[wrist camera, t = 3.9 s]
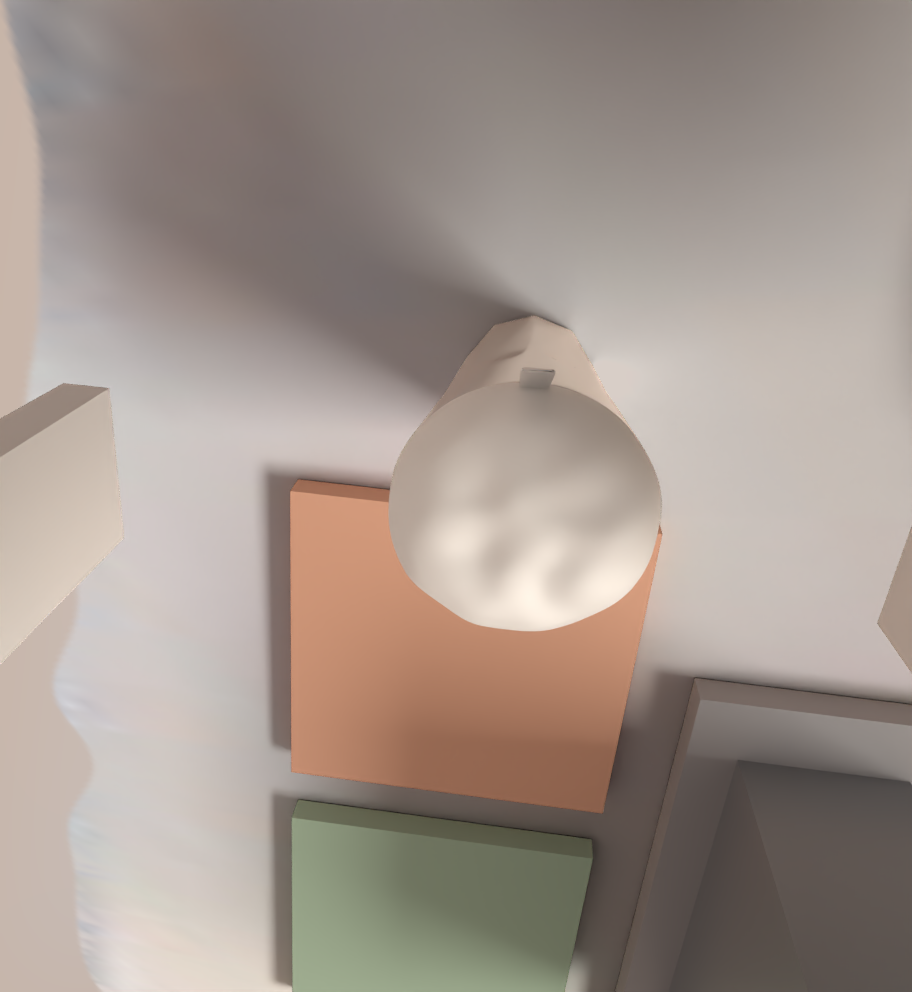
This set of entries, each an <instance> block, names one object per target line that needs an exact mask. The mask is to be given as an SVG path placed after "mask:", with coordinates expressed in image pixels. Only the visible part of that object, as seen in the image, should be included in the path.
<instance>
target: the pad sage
mask: <svg viewBox="0 0 912 992" xmlns="http://www.w3.org/2000/svg"><path fill="white" fill-rule="evenodd" d="M592 861H593V852H592V839H586V838H578V837H571V836H564V835H556V834H549V833H541V832H534V831H527V830H519V829H512V828H504V827H497V826H490V825H482V824H475V823H467V822H460V821H452V820H445V819H438V818H430V817H423V816H415V815H408V814H401V813H393V812H386V811H378V810H371V809H364V808H356V807H349V806H341V805H334V804H327V803H319V802H312V801H304V800H298V801H297V804H296V807H295V810H294V813H293V815H292V992H565V987H566V983H567V978H568V973H569V969H570V964H571V959H572V955H573V950H574V945H575V941H576V936H577V931H578V927H579V922H580V917H581V913H582V908H583V903H584V899H585V894H586V889H587V884H588V880H589V875H590V870H591V866H592Z"/></svg>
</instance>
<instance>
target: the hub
mask: <svg viewBox="0 0 912 992" xmlns="http://www.w3.org/2000/svg"><path fill="white" fill-rule="evenodd" d="M615 992H912V705H909V704H901V703H893V702H885V701H877V700H869V699H861V698H853V697H845V696H837V695H828V694H820V693H812V692H804V691H796V690H788V689H780V688H772V687H764V686H756V685H748V684H740V683H732V682H724V681H716V680H708V679H700V678H695V679H694V683H693V687H692V691H691V694H690V698H689V702H688V706H687V710H686V714H685V718H684V722H683V726H682V730H681V734H680V738H679V742H678V746H677V750H676V753H675V757H674V761H673V765H672V769H671V773H670V777H669V781H668V785H667V789H666V793H665V797H664V801H663V805H662V809H661V813H660V816H659V820H658V824H657V828H656V832H655V836H654V840H653V844H652V848H651V852H650V856H649V860H648V864H647V868H646V872H645V875H644V879H643V883H642V887H641V891H640V895H639V899H638V903H637V907H636V911H635V915H634V919H633V923H632V927H631V931H630V935H629V938H628V942H627V946H626V950H625V954H624V958H623V962H622V966H621V970H620V974H619V978H618V982H617V986H616V990H615Z"/></svg>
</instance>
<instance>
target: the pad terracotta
mask: <svg viewBox="0 0 912 992" xmlns="http://www.w3.org/2000/svg"><path fill="white" fill-rule="evenodd" d="M389 494H390V490H387V489H379V488H370V487H361V486H352V485H344V484H335V483H326V482H318V481H309V480H300V479H298V480H297V482H296V483H295V485H294V486H293V488H292V489H291V491H290V557H291V772H295V773H302V774H310V775H317V776H325V777H332V778H340V779H347V780H355V781H362V782H370V783H377V784H385V785H392V786H400V787H407V788H415V789H422V790H430V791H437V792H445V793H452V794H460V795H467V796H475V797H482V798H490V799H497V800H505V801H512V802H520V803H527V804H535V805H542V806H550V807H557V808H565V809H572V810H580V811H587V812H595V813H602V814H603V810H604V805H605V800H606V796H607V791H608V786H609V782H610V777H611V772H612V767H613V763H614V758H615V753H616V749H617V744H618V739H619V735H620V730H621V725H622V721H623V716H624V711H625V707H626V702H627V697H628V693H629V688H630V683H631V679H632V674H633V669H634V665H635V660H636V655H637V651H638V646H639V641H640V636H641V632H642V627H643V622H644V618H645V613H646V608H647V604H648V599H649V594H650V590H651V585H652V580H653V576H654V571H655V566H656V562H657V557H658V552H659V548H660V543H661V538H662V531H661V528H660V524H659V530H658V534H657V539H656V543H655V546H654V550H653V553H652V556H651V558H650V561H649V563H648V565H647V567H646V569H645V571H644V573H643V574H642V576H641V577H640V579H639V580H638V582H637V583H636V584H635V586H634V587H633V588H632V589H631V590H630V591H629V592H628V593H627V594H626V595H625V596H624V597H623V598H622V599H620V600H619V601H618V602H616V603H615V604H613V605H612V606H610V607H608V608H606V609H604V610H602V611H600V612H598V613H596V614H594V615H592V616H589V617H587V618H585V619H582V620H580V621H577V622H575V623H572V624H569V625H566V626H563V627H559V628H555V629H551V630H545V631H516V630H506V629H498V628H491V627H485V626H480V625H476V624H473V623H471V622H468V621H466V620H464V619H463V618H461V617H459V616H458V615H456V614H454V613H453V612H452V611H450V610H449V609H447V608H446V607H445V606H443V605H442V604H440V603H439V602H438V601H436V600H435V599H433V598H432V597H430V596H429V595H428V594H426V593H425V592H424V591H422V590H421V589H420V588H419V587H418V586H417V585H416V584H415V583H414V582H413V581H412V580H411V579H410V578H409V577H408V575H407V574H406V572H405V571H404V569H403V567H402V565H401V563H400V561H399V559H398V557H397V554H396V552H395V549H394V546H393V542H392V539H391V534H390V528H389V516H388V508H389Z"/></svg>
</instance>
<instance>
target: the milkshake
mask: <svg viewBox="0 0 912 992" xmlns="http://www.w3.org/2000/svg"><path fill="white" fill-rule="evenodd" d="M661 508H662V499H661V490H660V486H659V482H658V478H657V475H656V473H655V470H654V467H653V465H652V463H651V461H650V459H649V457H648V455H647V453H646V452H645V450H644V448H643V447H642V445H641V443H640V442H639V440H638V439H637V437H636V435H635V434H634V432H633V431H632V429H631V428H630V426H629V425H628V423H627V421H626V420H625V418H624V417H623V415H622V414H621V412H620V411H619V409H618V408H617V406H616V405H615V403H614V402H613V401H612V399H611V398H610V396H609V395H608V394H607V392H606V391H605V389H604V387H603V385H602V383H601V381H600V379H599V377H598V375H597V373H596V371H595V369H594V367H593V365H592V363H591V362H590V360H589V358H588V357H587V355H586V353H585V352H584V350H583V348H582V347H581V345H580V343H579V341H578V340H577V338H576V336H575V334H574V333H573V331H572V330H569V329H567V328H564V327H562V326H559V325H557V324H554V323H552V322H550V321H547V320H545V319H542V318H540V317H538V316H535V315H533V316H529V317H525V318H521V319H516V320H512V321H508V322H504V323H500V324H495V325H494V326H493V327H492V328H491V329H490V330H489V332H488V333H487V334H486V335H485V336H484V337H483V339H482V340H481V341H480V342H479V343H478V345H477V346H476V347H475V348H474V349H473V350H472V351H471V353H470V354H469V355H468V356H467V358H466V359H465V361H464V362H463V364H462V366H461V367H460V369H459V371H458V372H457V374H456V375H455V377H454V379H453V380H452V382H451V383H450V385H449V387H448V388H447V390H446V391H445V393H444V395H443V396H442V397H441V398H440V400H439V401H438V402H437V403H436V405H435V406H434V407H433V409H432V410H431V411H430V413H429V414H428V415H427V416H426V418H425V419H424V420H423V422H422V423H421V424H420V426H419V427H418V428H417V430H416V431H415V432H414V434H413V435H412V436H411V438H410V439H409V440H408V442H407V443H406V445H405V447H404V448H403V450H402V452H401V454H400V456H399V458H398V460H397V463H396V465H395V469H394V472H393V476H392V481H391V486H390V494H389V508H388V516H389V528H390V534H391V539H392V542H393V546H394V549H395V552H396V554H397V557H398V559H399V561H400V563H401V565H402V567H403V569H404V571H405V572H406V574H407V575H408V577H409V578H410V579H411V580H412V581H413V582H414V583H415V584H416V585H417V586H418V587H419V588H420V589H421V590H422V591H424V592H425V593H426V594H428V595H429V596H430V597H432V598H433V599H435V600H436V601H438V602H439V603H440V604H442V605H443V606H445V607H446V608H447V609H449V610H450V611H452V612H453V613H454V614H456V615H458V616H459V617H461V618H463V619H464V620H466V621H468V622H471V623H473V624H476V625H480V626H485V627H491V628H498V629H506V630H516V631H545V630H551V629H555V628H559V627H563V626H566V625H569V624H572V623H575V622H577V621H580V620H582V619H585V618H587V617H589V616H592V615H594V614H596V613H598V612H600V611H602V610H604V609H606V608H608V607H610V606H612V605H613V604H615V603H616V602H618V601H619V600H620V599H622V598H623V597H624V596H625V595H626V594H627V593H628V592H629V591H630V590H631V589H632V588H633V587H634V586H635V584H636V583H637V582H638V580H639V579H640V577H641V576H642V574H643V573H644V571H645V569H646V567H647V565H648V563H649V561H650V558H651V556H652V553H653V550H654V546H655V543H656V539H657V534H658V530H659V524H660V518H661Z"/></svg>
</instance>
